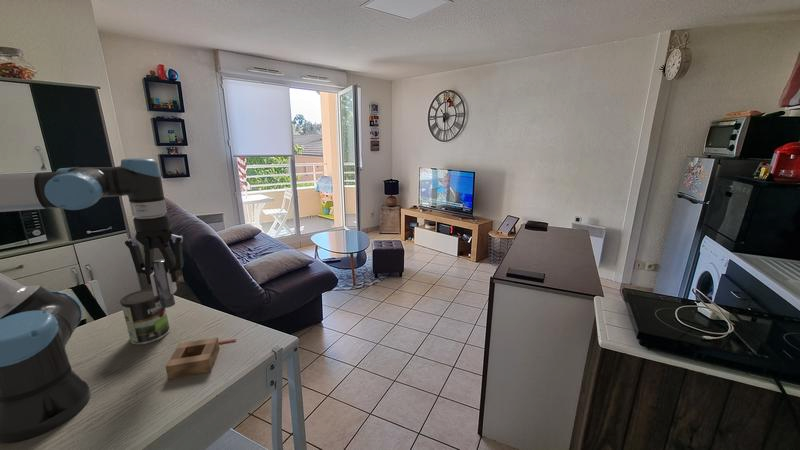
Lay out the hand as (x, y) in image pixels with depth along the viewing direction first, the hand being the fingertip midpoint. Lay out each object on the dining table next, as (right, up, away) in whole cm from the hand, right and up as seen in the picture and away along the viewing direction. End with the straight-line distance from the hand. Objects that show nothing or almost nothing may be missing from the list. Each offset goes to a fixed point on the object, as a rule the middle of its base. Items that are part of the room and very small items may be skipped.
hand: (165, 292), depth 91 cm
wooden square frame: (+11, -19, -3) cm, 23 cm away
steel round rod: (0, -4, +1) cm, 4 cm away
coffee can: (-12, -16, +9) cm, 22 cm away
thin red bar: (+10, -17, +5) cm, 21 cm away
